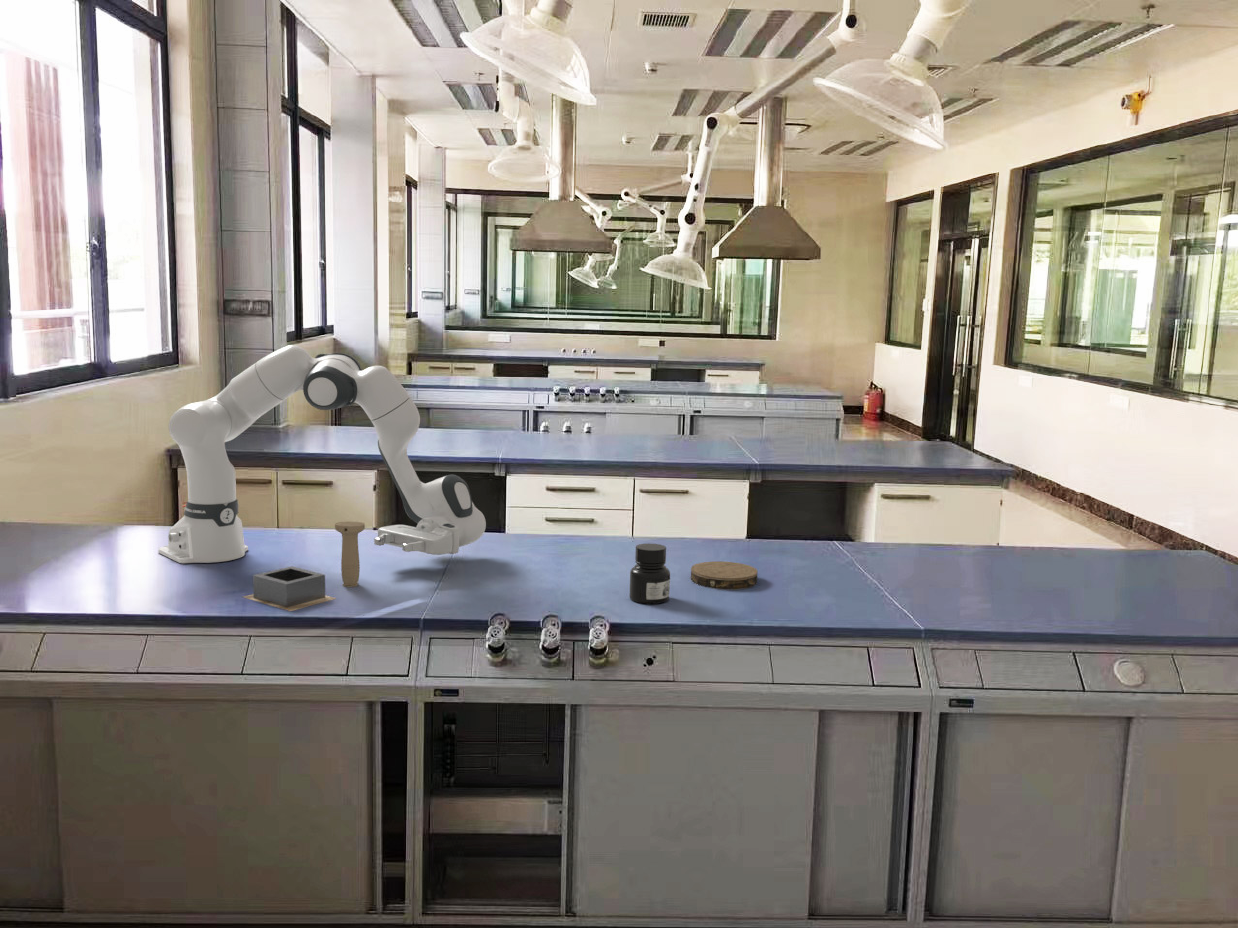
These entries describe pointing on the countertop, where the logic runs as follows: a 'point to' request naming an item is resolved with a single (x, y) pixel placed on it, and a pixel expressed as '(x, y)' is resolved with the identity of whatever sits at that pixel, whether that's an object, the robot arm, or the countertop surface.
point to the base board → (292, 608)
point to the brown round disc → (724, 575)
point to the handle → (350, 551)
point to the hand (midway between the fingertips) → (390, 544)
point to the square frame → (289, 586)
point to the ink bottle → (650, 575)
